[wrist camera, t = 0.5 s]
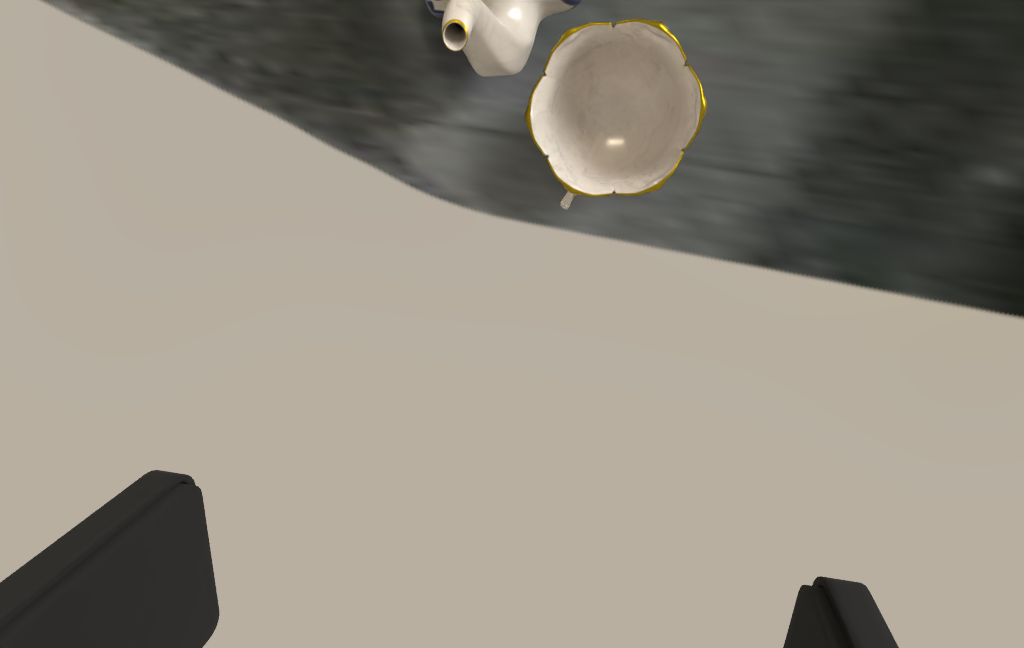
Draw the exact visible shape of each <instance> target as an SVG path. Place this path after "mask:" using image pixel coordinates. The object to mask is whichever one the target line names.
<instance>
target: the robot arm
mask: <svg viewBox="0 0 1024 648" xmlns="http://www.w3.org/2000/svg"><path fill="white" fill-rule="evenodd" d="M218 619H219V606H218V599H217V593H216V586H215V579H214V572H213V565H212V558H211V551H210V545H209V538H208V531H207V524H206V517H205V510H204V503H203V496H202V492H201V489H200V488H199V487H198V486H196V485H195V482H194V480H193V479H192V477H190V476H188V475H185V474H178V473H172V472H166V471H159V470H154V471H151V472H148V473H147V474H145V475H143V476H142V477H141V478H139V479H138V480H137V481H135V482H134V483H133V484H131V485H130V486H129V487H127V488H126V489H125V490H123V491H122V492H121V493H119V494H118V495H117V496H115V497H114V498H113V499H111V500H110V501H109V502H107V503H106V504H105V505H104V506H102V507H101V508H100V509H98V510H97V511H95V512H94V513H93V514H91V515H90V516H89V517H87V518H86V519H85V520H84V521H82V522H81V523H80V524H78V525H77V526H75V527H74V528H73V529H71V530H70V531H69V532H67V533H66V534H65V535H64V536H62V537H61V538H59V539H58V540H57V541H55V542H54V543H53V544H51V545H50V546H49V547H47V548H46V549H45V550H43V551H42V552H41V553H39V554H38V555H37V556H35V557H34V558H33V559H31V560H30V561H29V562H27V563H26V564H25V565H24V566H22V567H21V568H19V569H18V570H17V571H16V572H14V573H13V574H11V575H10V576H9V577H7V578H6V579H5V580H3V581H2V582H1V583H0V648H202V647H203V646H204V645H205V644H206V642H207V641H208V640H209V638H210V637H211V636H212V634H213V632H214V630H215V628H216V626H217V623H218ZM783 648H899V647H898V646H897V644H896V642H895V640H894V638H893V636H892V634H891V632H890V630H889V628H888V626H887V624H886V622H885V621H884V619H883V617H882V615H881V613H880V611H879V609H878V607H877V605H876V603H875V601H874V599H873V597H872V595H871V593H870V592H869V590H868V588H867V587H866V586H865V585H863V584H862V583H858V582H852V581H845V580H839V579H833V578H827V577H817V578H816V579H815V581H814V583H813V585H812V586H809V585H802V586H801V588H800V590H799V592H798V596H797V600H796V603H795V607H794V611H793V614H792V618H791V622H790V625H789V629H788V633H787V637H786V640H785V644H784V647H783Z"/></svg>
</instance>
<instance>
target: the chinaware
mask: <svg viewBox="0 0 1024 648" xmlns="http://www.w3.org/2000/svg"><path fill="white" fill-rule="evenodd" d="M425 1H426V4H427V6H428V9H429V10H430V12H431V13H432V14H433V15H434V16H435V17H437V18H439V19H442V20H443V21H442V38H443V42H444V44H445V46H446V47H447V48H448V49H449V50H451V51H455V52H456V51H460V50H463V51H464V53H465V54H466V56H467V58H468V60H469V62H470V64H471V65H472V67H473V68H474V70H475V71H476V72H477V73H478V74H479V75H481V76H483V77H488V76H503V75H514V74H517V73H519V72H520V71H521V70H522V69H523V68H524V66H525V64H526V62H527V60H528V58H529V55H530V52H531V49H532V46H533V43H534V40H535V36H536V32H537V28H538V26H539V23H540V22H541V21H542V19H544V18H545V17H547V16H550V15H553V14H556V13H560V12H564V11H567V10H570V9H572V8H574V7H576V6H577V5H578V4H579V3H580V2H581V0H425ZM686 62H687V59H686V56H685V54H684V52H683V50H682V48H681V45H680V44H679V42H678V40H677V39H676V38H675V36H674V35H673V34H672V33H671V32H670V31H669V30H668V28H667V27H666V25H664V24H663V23H662V22H659V21H655V20H652V21H649V20H644V19H630V20H625V21H619V22H616V23H615V25H614V26H613V25H612V23H611V22H595V23H588V24H584V25H582V26H579V27H573V28H571V29H569V30H567V31H566V32H565V33H564V34H563V35H562V36H561V38H560V40H559V41H558V43H557V44H556V45H555V46H554V48H553V49H552V51H551V53H550V55H549V57H548V60H547V63H546V65H545V68H544V70H543V72H544V73H545V75H544V76H540V78H539V80H538V82H537V84H536V85H535V87H534V89H533V91H532V93H531V95H530V99H529V103H528V107H527V109H526V113H525V121H526V124H527V126H528V128H529V131H530V134H531V137H532V139H533V141H534V143H535V144H536V146H537V147H538V148H539V150H540V151H541V153H542V154H543V156H548V158H547V160H546V161H547V163H548V164H549V166H550V168H551V170H552V172H553V174H554V176H555V177H556V178H557V180H558V181H559V182H560V183H561V184H562V185H563V186H564V187H565V189H566V190H567V191H568V192H567V193H566V194H565V196H564V197H563V198H562V200H561V203H560V206H561V207H562V208H564V209H568V208H569V207H570V205H571V203H572V201H573V199H574V197H575V195H583V196H588V197H600V196H611V195H612V193H615V194H616V195H625V196H636V195H640V194H644V193H648V192H654V191H657V190H658V189H660V188H661V187H662V186H663V185H664V183H665V182H666V181H667V180H668V179H669V177H670V176H671V175H672V174H673V173H674V172H675V170H676V168H677V166H678V164H679V162H680V161H681V159H682V157H683V155H684V153H683V149H687V148H688V147H689V145H690V144H691V142H692V141H693V139H694V138H695V136H696V135H697V133H698V131H699V129H700V126H701V123H702V120H703V118H704V116H705V114H706V111H707V101H706V98H705V96H704V93H703V89H702V85H701V82H700V81H699V79H698V77H697V76H696V74H695V72H694V71H693V69H692V68H691V66H690V65H686Z"/></svg>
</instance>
